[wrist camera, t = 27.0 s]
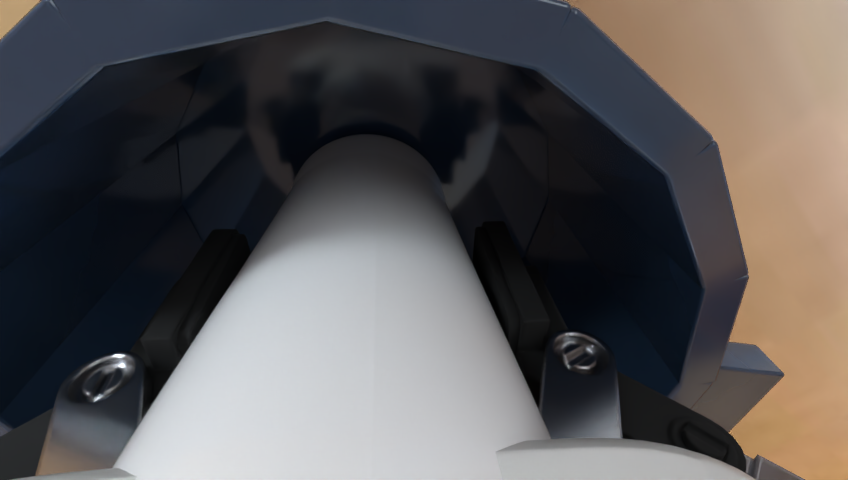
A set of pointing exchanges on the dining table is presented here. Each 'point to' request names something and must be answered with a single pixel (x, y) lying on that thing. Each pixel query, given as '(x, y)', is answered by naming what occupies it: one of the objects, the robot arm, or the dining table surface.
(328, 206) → the white tumbler
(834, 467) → the dining table surface
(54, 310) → the pot
